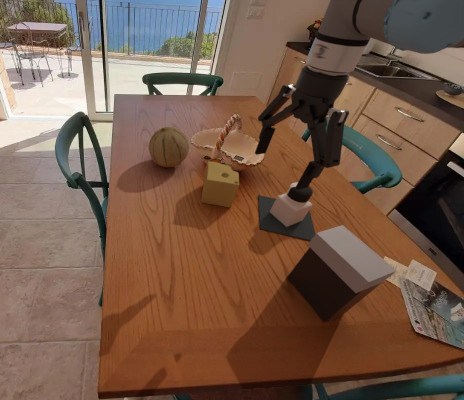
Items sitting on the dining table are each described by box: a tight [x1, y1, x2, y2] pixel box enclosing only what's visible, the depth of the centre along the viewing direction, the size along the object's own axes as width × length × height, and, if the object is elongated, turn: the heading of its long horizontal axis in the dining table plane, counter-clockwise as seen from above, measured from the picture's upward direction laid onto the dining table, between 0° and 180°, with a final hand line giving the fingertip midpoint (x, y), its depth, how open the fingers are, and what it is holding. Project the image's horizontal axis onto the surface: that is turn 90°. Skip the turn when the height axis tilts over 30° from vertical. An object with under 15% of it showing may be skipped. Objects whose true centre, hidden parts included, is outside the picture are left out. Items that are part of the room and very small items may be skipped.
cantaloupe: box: [148, 126, 190, 168], centre depth 98 cm, size 15×15×15 cm
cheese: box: [200, 160, 240, 209], centre depth 87 cm, size 10×11×10 cm
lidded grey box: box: [286, 224, 398, 323], centre depth 59 cm, size 8×12×18 cm, turn 20°
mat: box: [257, 194, 316, 242], centre depth 84 cm, size 16×16×1 cm
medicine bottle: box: [270, 181, 314, 227], centre depth 80 cm, size 7×7×12 cm
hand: (279, 169), depth 61 cm, fingers open, 13 cm apart
